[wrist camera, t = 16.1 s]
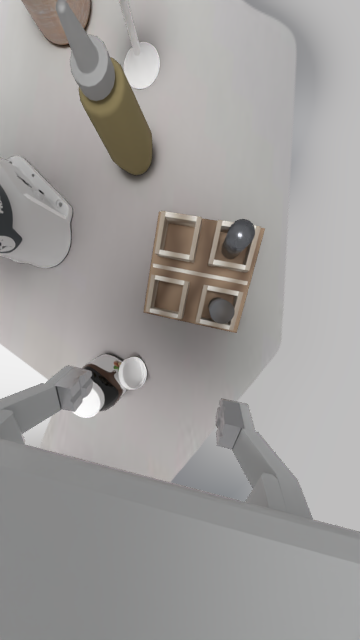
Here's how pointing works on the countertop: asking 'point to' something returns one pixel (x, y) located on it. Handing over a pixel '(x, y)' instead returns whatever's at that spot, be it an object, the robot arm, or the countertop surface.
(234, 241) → the pin
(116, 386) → the spread jar
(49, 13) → the planter
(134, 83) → the champagne flute
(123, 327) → the countertop surface
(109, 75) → the squeeze bottle
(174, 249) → the wooden compartment tray
